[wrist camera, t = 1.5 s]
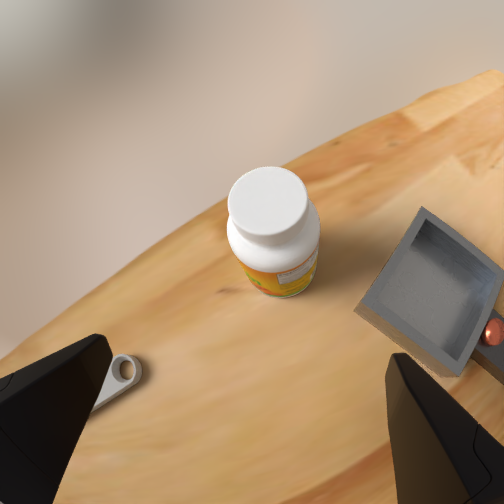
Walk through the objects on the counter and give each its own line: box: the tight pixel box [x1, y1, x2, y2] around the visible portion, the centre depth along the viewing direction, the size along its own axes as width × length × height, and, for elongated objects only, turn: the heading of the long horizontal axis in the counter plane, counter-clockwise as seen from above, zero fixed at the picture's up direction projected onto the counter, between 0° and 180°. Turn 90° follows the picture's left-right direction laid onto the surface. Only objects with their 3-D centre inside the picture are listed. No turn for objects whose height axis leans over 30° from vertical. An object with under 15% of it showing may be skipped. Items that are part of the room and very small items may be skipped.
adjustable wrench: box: [91, 354, 142, 413], centre depth 20 cm, size 25×6×2 cm, turn 122°
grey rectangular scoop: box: [354, 206, 504, 385], centre depth 17 cm, size 22×9×3 cm, turn 49°
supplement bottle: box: [227, 166, 320, 298], centre depth 19 cm, size 5×5×10 cm
